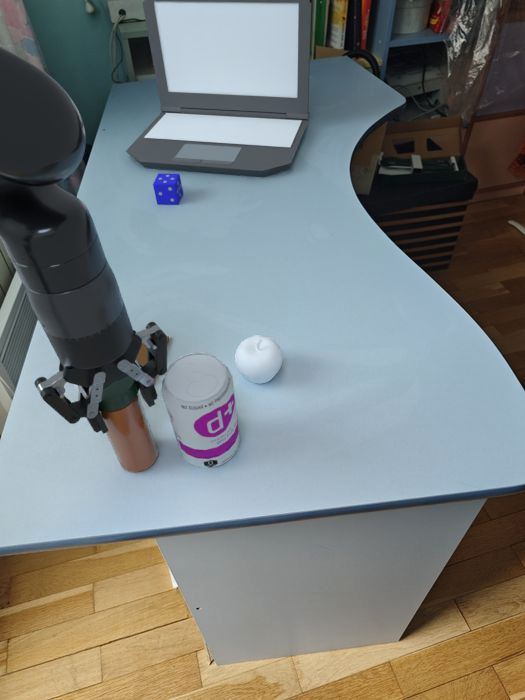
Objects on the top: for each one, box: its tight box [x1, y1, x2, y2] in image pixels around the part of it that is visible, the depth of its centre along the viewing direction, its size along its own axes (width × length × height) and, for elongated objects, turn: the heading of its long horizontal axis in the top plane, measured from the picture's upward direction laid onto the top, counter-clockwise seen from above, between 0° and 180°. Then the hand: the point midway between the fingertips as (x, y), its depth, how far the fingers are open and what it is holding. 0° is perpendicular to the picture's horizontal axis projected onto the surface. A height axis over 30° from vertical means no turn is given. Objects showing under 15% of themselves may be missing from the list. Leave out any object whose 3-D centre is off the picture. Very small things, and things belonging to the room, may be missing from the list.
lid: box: [98, 375, 140, 412], centre depth 56 cm, size 6×6×2 cm
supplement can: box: [161, 351, 241, 469], centre depth 60 cm, size 8×8×15 cm
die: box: [152, 172, 184, 206], centre depth 110 cm, size 5×5×5 cm
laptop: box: [125, 0, 313, 178], centre depth 117 cm, size 43×31×34 cm
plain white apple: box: [234, 334, 283, 385], centre depth 71 cm, size 7×7×8 cm
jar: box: [99, 393, 159, 473], centre depth 60 cm, size 5×5×14 cm
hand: (126, 413), depth 57 cm, fingers closed on lid, 5 cm apart
